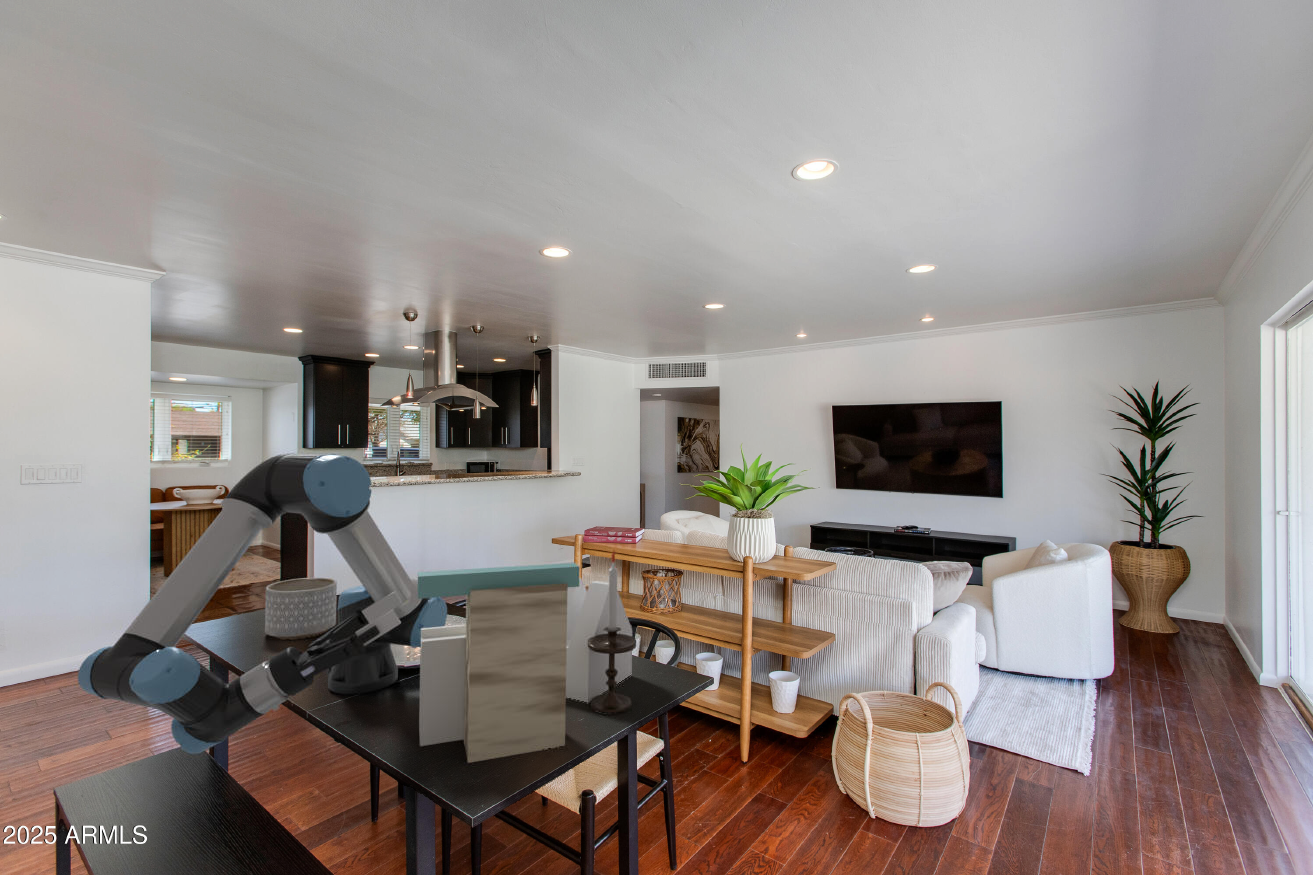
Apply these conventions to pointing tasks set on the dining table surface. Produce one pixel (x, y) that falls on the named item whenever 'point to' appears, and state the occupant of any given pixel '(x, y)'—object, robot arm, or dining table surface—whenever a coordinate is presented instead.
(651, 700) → the dining table surface
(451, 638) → the white lidded box
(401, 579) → the robot arm
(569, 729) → the dining table surface
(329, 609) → the planter
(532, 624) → the stand
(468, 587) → the bar
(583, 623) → the white slotted block
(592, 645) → the candlestick
